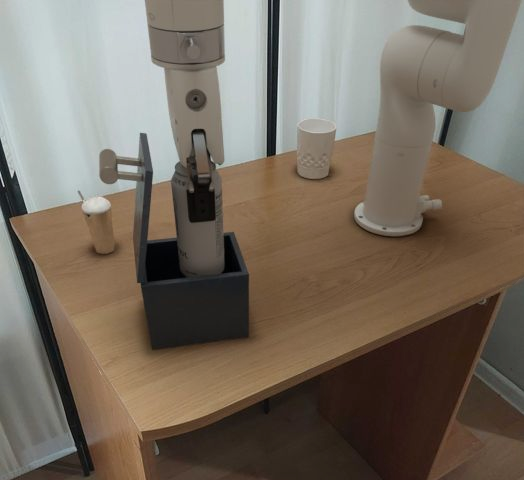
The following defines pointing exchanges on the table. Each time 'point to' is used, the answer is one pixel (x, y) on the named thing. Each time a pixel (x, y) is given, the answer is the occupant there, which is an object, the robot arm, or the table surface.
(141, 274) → the lid
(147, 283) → the bin
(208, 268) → the energy drink can
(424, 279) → the table surface
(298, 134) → the white cup
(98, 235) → the milkshake
